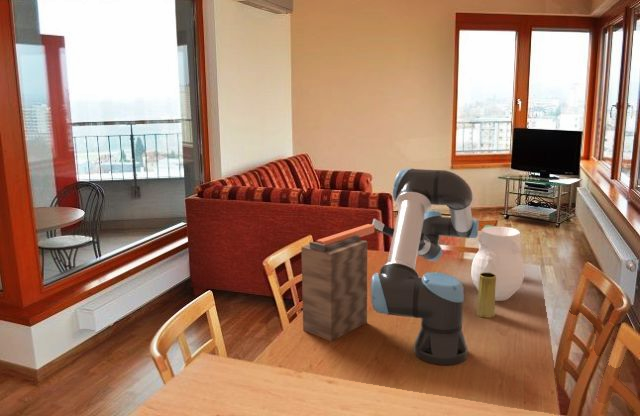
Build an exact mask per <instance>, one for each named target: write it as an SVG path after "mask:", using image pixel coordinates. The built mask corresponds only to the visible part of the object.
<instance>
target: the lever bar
mask: <svg viewBox="0 0 640 416" xmlns="http://www.w3.org/2000/svg"><path fill="white" fill-rule="evenodd" d="M374 233H375V227H374V225H372V223H371V224H370V223H367V224H364V225H360V226H358V227H354V228H352V229H351V228H350V229H348V230H345V231H342V232H339V233H335V234H333V235H332V234H331V235H329V236H326V237H323V238H320V239H316V242H317V243H320V244H324V245H326V246H327V245H330V244H333V243H336V242H339V241H342V240H345V239H348V238H351V237H354V236H360V238H363V237H365V236H369V235H372V234H374Z"/></svg>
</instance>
